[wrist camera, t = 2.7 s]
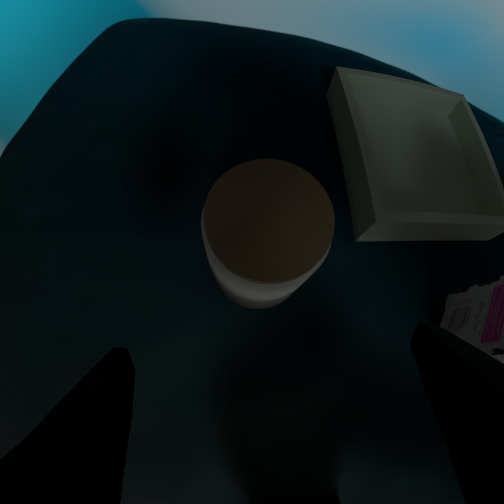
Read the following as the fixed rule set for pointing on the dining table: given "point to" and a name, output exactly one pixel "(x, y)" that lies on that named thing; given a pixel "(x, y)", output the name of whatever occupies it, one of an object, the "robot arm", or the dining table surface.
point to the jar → (265, 231)
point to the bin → (413, 161)
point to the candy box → (478, 316)
